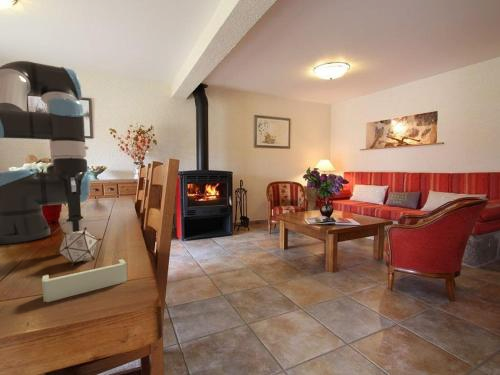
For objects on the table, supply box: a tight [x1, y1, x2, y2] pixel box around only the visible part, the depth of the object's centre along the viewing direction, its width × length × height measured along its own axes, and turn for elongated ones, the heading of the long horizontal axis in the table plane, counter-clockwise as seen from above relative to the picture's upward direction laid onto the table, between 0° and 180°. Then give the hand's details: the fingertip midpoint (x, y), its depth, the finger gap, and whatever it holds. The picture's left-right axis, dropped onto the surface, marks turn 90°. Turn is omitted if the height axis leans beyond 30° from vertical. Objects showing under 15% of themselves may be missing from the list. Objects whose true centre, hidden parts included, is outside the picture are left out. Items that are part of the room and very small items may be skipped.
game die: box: [54, 226, 103, 267], centre depth 62 cm, size 9×8×10 cm
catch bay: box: [41, 258, 128, 303], centre depth 48 cm, size 4×13×4 cm, turn 127°
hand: (76, 243), depth 72 cm, fingers closed
